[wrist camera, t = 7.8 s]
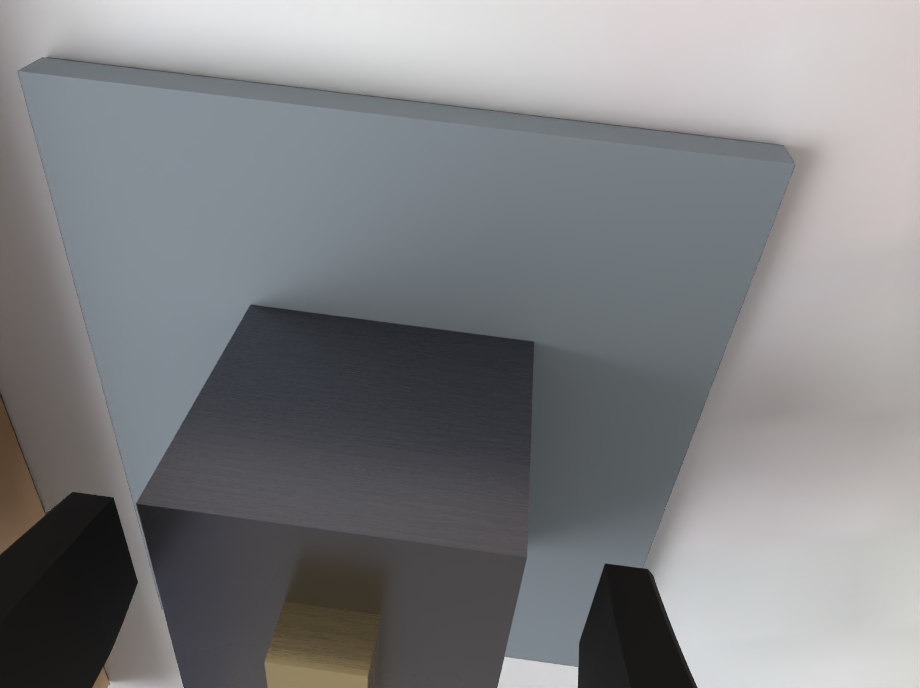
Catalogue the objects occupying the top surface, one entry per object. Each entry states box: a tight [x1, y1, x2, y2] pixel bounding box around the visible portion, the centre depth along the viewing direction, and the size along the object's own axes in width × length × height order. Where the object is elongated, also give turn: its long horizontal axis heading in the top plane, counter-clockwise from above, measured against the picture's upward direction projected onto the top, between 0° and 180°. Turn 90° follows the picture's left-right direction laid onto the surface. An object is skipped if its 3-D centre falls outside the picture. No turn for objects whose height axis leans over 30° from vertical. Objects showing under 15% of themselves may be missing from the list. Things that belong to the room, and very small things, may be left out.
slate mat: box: [18, 57, 795, 667], centre depth 13 cm, size 12×10×1 cm
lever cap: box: [136, 305, 534, 688], centre depth 11 cm, size 5×4×5 cm
